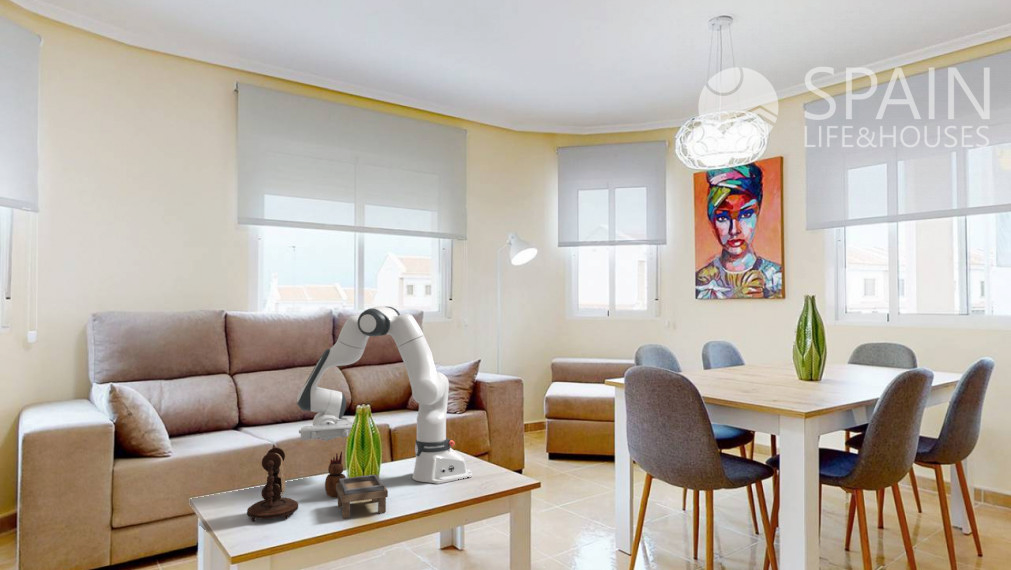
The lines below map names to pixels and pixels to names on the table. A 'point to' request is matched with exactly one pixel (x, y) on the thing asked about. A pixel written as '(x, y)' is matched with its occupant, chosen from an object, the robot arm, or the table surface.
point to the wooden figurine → (334, 476)
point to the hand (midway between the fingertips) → (331, 436)
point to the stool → (361, 492)
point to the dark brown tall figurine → (273, 490)
